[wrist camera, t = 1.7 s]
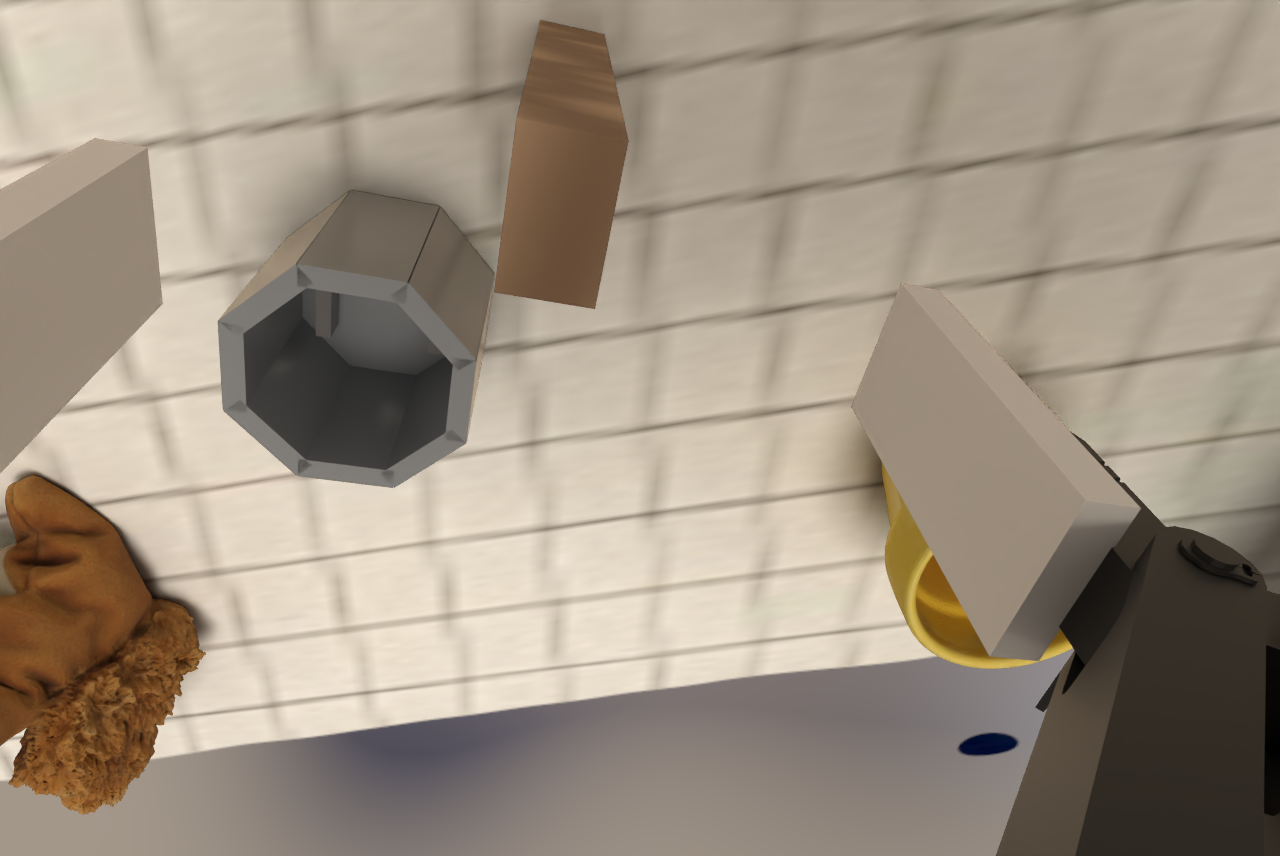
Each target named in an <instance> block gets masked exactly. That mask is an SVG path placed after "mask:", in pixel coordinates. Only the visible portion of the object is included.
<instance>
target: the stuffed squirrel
mask: <svg viewBox="0 0 1280 856" xmlns="http://www.w3.org/2000/svg"><path fill="white" fill-rule="evenodd" d="M5 504H6V510H7V514H8V517H9V520H10V524H11V526H12V528H13V531H14V534H15V538H16V542H15V543H13V544H10V545H8V546H6V547H4V548H2V549H1V550H0V746H1V745H2V744H3V743H5V742H6V741H7V740H8V739H10V738H11V737H13V736H14V735H16V734H17V733H19V732H21V731H23V730H24V729H25V728H27V729H26V730H25V733H24V737H23V738H22V739H21V740H20V743H21V745H22V748H21V750H20V751H19V753H18V755H17V756H16V758H15V760H14V767H15V768H14V775H13V778H12V779H11V780H10V781H9V784H11V785H13V786H14V787H17V788H18V787H20V786H21V785H23V784H25V785H26V786H27V785H29V787H30V788H33V789H32V790H33V791H35V794H36V795H37V794H45V795H48V794H52V795H56V796H60V798H61V801H62V804H63V805H64V806H65V807H67V808H68V809H70V810H75V811H76V810H77V811H78V812H79V813H81V814H88V813H89V812H95V810H96V809H98V807H99V806H101V805H102V804H103V805H108V804H110V806H111V807H113V806H114V804H117V802H118V801H121V799H122V798H123V796H124V795H125V792H126V790H127V789H128V784H129V783H130V782H131V780H133V779H134V778H135V777H136V778H139V777H140V774H141V772H143V771H144V768H145V767H146V765H147V764H148V763H149V760H150V758H151V756H152V755H153V754H154V752H155V751H154V748H153V745H154V744H155V739H156V737H157V734H158V728H157V726H156V725H164V720H165V717H166V716H167V714H169V715H173V713H172V710H173V707H174V703H173V702H175V697H174V694H176V695H178V696H181V695H182V692H181V689H180V687H181V685H180V681H182V680H184V679H183V676H182V675H185V674H187V672H192V671H194V670H196V669H198V668H197V667H196V666H197V665H198V664H199V662H200V661H199V660H200V659H202V658H203V656H204V655H206V653H205V652H203V651H202V650H200V649H199V642H198V639H197V638H198V637H197V634H196V631H197V629H196V626H194V625H193V622H192V621H193V620H194V618H191V617H190V616H189V614H188V613H187V609H185V608H184V607H183V606H181V605H178V604H176V603H175V602H171V601H169V600H164V599H153V598H152V597H151V594H150V592H149V591H148V590H147V588H146V586H145V584H144V582H143V580H142V579H141V577H140V575H139V573H138V571H137V569H136V567H135V565H134V564H133V562H132V560H131V558H130V556H129V554H128V551H127V550H126V548H125V546H124V544H123V542H122V540H121V538H120V536H119V534H118V532H117V531H116V529H115V528H114V527H113V526H112V525H111V524H110V523H109V522H108V521H107V520H106V519H104V518H103V517H101V516H100V515H99V514H98V513H96V512H95V511H94V510H92V509H91V508H89V507H88V506H86V505H85V504H84V503H82V502H81V501H79V500H78V499H76V498H75V497H73V496H72V495H70V494H69V493H67V492H65V491H64V490H62V489H60V488H58V487H57V486H55V485H53V484H51V483H49V482H48V481H46V480H45V479H43V478H41V477H37V476H34V475H33V476H29V477H26V478H24V479H22V480H20V481H18V482H14V483H12V484H11V485H10V486H9V487H8V489H7V491H6V497H5Z"/></svg>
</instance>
